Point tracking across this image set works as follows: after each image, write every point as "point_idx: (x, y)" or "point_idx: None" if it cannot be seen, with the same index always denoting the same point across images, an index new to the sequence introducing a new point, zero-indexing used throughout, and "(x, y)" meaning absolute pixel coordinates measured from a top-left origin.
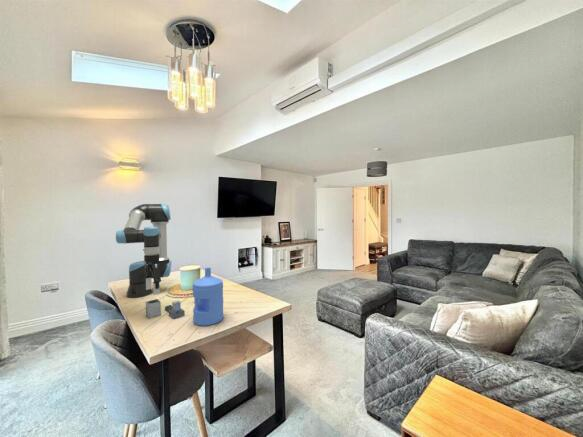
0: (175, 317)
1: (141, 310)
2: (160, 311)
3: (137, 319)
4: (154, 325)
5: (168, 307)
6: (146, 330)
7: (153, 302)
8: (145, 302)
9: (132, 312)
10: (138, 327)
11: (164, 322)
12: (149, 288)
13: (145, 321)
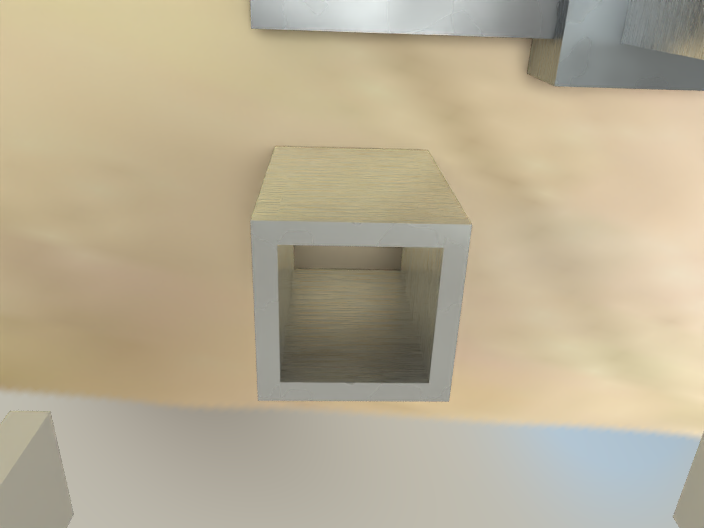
0: None
1: (31, 267)
2: (436, 170)
3: None
4: (647, 297)
5: (353, 3)
6: (683, 379)
7: (282, 269)
8: (265, 394)
9: (37, 355)
10: (543, 408)
11: (680, 196)
12: (51, 474)
13: None
